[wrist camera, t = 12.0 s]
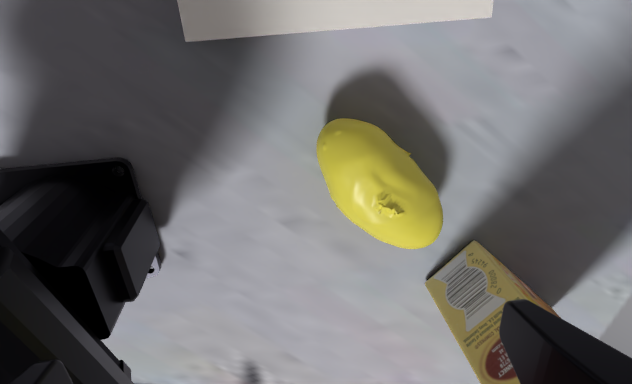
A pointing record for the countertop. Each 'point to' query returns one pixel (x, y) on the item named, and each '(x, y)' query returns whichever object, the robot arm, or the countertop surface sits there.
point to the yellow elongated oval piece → (378, 184)
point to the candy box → (480, 308)
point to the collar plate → (315, 15)
